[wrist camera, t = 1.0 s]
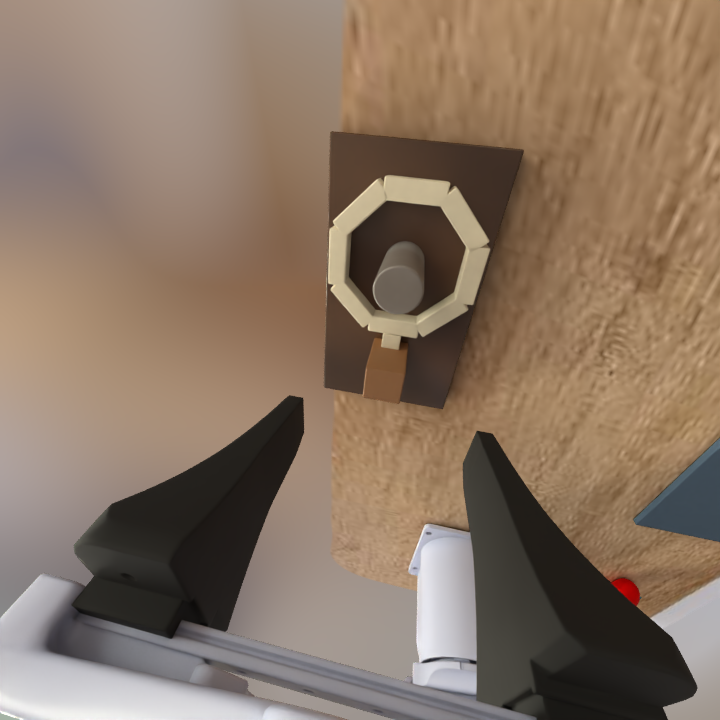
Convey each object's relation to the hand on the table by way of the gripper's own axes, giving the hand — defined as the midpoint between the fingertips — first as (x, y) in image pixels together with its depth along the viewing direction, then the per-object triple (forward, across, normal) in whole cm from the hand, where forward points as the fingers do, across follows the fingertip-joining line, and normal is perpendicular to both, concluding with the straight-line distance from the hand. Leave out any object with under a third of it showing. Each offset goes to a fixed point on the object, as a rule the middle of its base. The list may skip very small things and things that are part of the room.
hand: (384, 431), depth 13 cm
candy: (+8, -23, +21) cm, 32 cm away
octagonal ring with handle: (+7, 0, -3) cm, 7 cm away
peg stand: (+7, 0, -3) cm, 8 cm away
